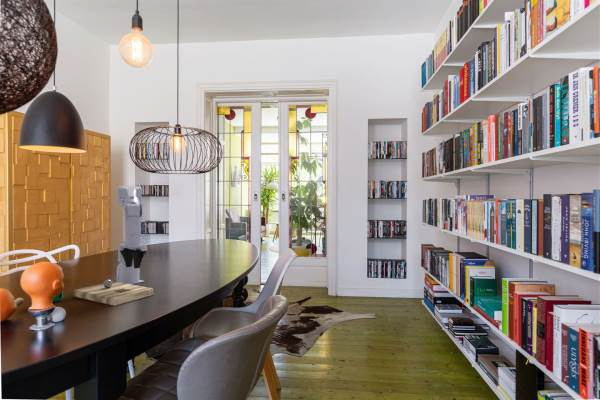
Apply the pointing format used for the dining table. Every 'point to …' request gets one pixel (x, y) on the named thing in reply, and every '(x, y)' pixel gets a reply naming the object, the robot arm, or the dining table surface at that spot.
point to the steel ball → (107, 283)
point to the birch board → (114, 293)
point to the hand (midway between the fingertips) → (133, 267)
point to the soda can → (58, 297)
